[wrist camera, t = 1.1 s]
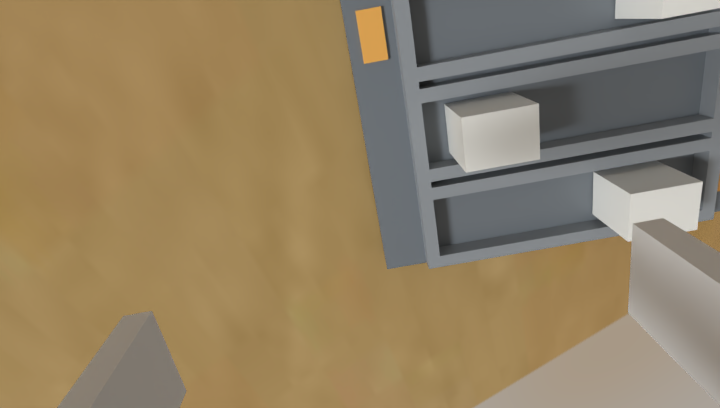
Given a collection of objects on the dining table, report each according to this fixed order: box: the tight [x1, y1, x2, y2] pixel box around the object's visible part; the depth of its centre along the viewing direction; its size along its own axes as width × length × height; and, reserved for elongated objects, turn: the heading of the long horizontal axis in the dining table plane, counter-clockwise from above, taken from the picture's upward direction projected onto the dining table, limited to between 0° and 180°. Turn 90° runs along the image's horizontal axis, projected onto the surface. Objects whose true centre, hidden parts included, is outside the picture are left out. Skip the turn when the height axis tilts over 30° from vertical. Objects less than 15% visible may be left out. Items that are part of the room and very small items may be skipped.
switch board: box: [340, 0, 720, 269], centre depth 28 cm, size 18×24×3 cm
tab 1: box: [444, 92, 540, 173], centre depth 26 cm, size 3×4×4 cm
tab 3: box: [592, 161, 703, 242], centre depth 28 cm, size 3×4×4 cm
